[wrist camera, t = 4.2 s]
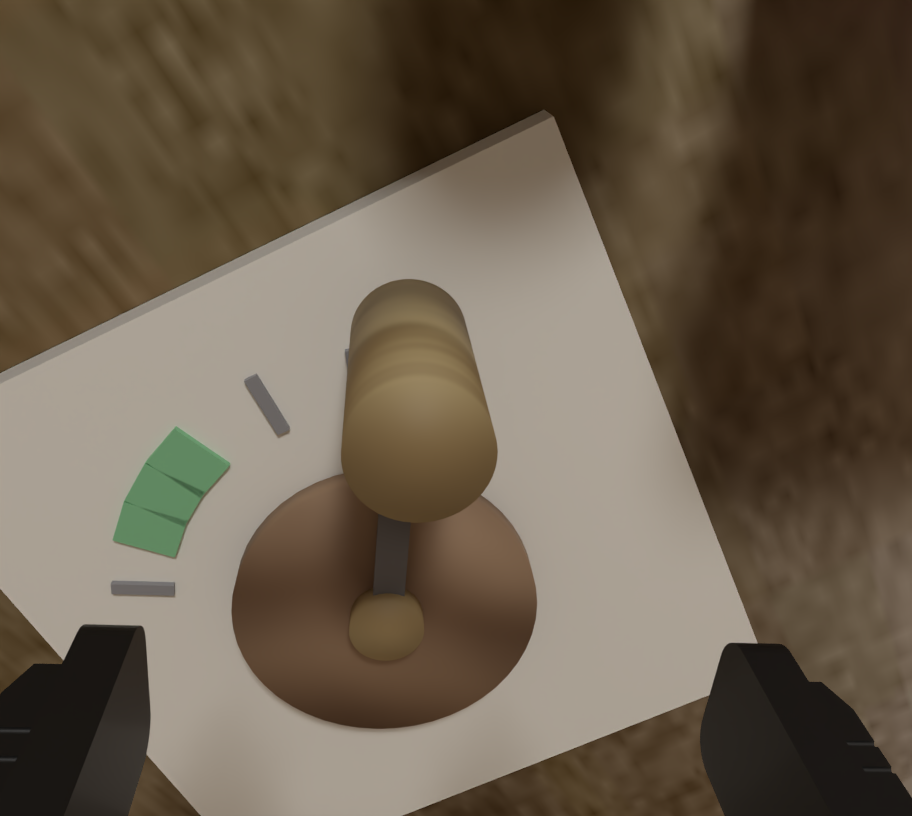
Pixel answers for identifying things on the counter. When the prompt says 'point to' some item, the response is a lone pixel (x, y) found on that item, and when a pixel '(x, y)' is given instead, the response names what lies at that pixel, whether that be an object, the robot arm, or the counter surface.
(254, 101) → the counter surface
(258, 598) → the tuning dial
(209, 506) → the dial panel
